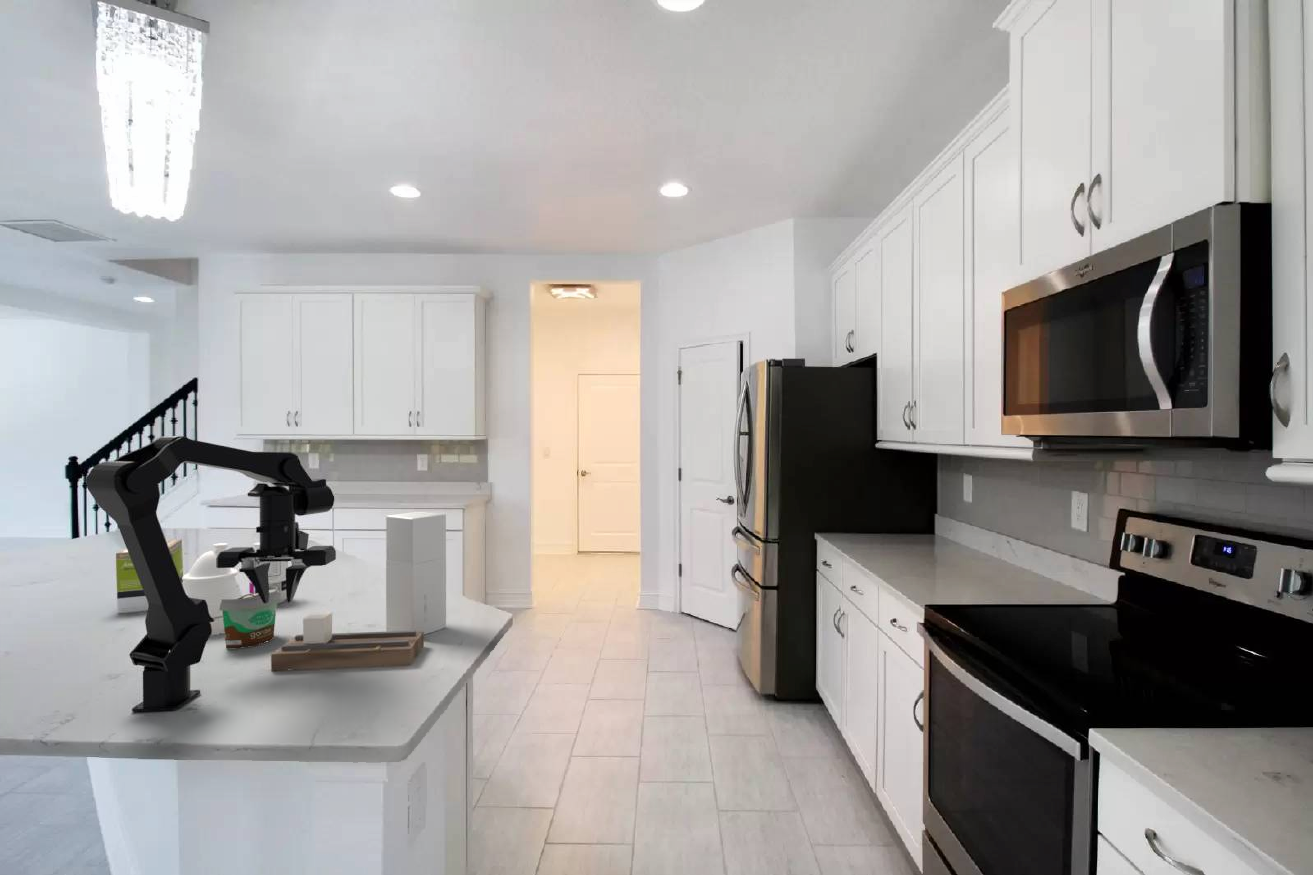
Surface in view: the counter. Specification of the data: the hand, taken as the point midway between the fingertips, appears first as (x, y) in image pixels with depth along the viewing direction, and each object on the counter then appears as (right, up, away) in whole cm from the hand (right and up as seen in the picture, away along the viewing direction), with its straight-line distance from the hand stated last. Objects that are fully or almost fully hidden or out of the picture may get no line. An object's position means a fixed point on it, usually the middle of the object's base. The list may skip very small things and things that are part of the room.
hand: (278, 602), depth 117 cm
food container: (-10, -11, +11) cm, 19 cm away
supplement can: (-26, -11, +40) cm, 49 cm away
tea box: (-54, -11, +38) cm, 67 cm away
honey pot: (-27, -11, +20) cm, 35 cm away
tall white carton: (+19, -11, +19) cm, 29 cm away
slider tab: (+7, -8, +1) cm, 10 cm away
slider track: (+13, -11, +2) cm, 17 cm away
